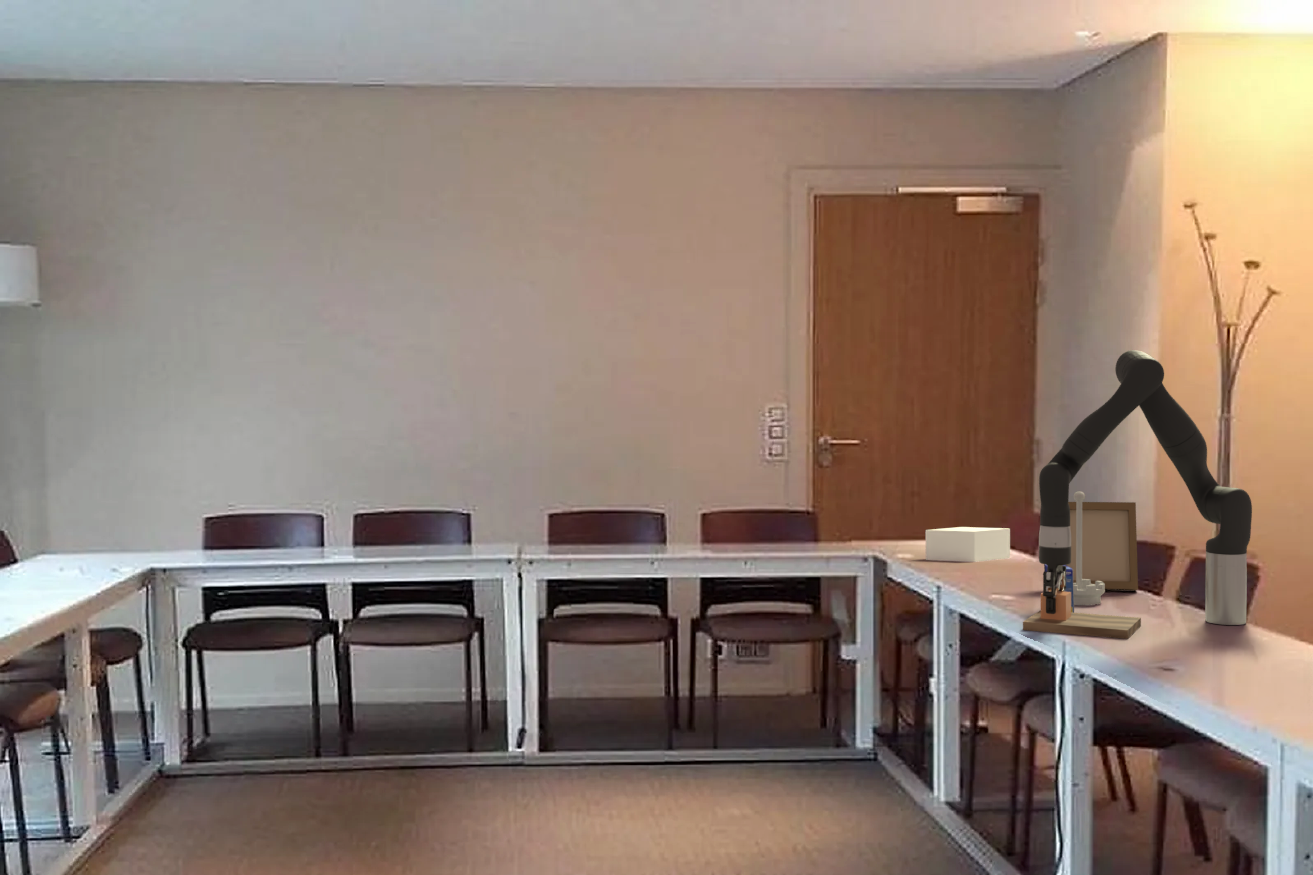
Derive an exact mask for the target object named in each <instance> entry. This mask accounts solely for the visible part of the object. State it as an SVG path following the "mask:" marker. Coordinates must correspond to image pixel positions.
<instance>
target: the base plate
mask: <svg viewBox="0 0 1313 875" xmlns="http://www.w3.org/2000/svg"><path fill="white" fill-rule="evenodd" d="M1141 626H1142V617H1136V616H1125V615H1124V616H1123V615H1122V616H1121V615H1109V614H1097V613H1085V612H1074V613H1073V612H1071V617H1070V618H1068V619H1067V620H1055V619H1043V618H1041V609H1040V610H1038V611H1037V612H1035V613H1034V614H1032V615H1030V616H1029V617H1028V618H1026V619H1025V620H1023V621H1022V631H1029V632H1031V631H1032V632H1040V633H1041V632H1044V633H1054V634H1055V633H1056V634H1066V635H1067V634H1068V635H1078V636H1089V637H1090V636H1092V637H1103V638H1113V639H1123V640H1124V639H1125V640H1127V639H1129V638H1130V637H1131V636H1132V635H1133V634H1134V633H1135V632H1136V631H1137V630H1138V629H1140V627H1141Z"/></svg>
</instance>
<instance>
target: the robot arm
mask: <svg viewBox="0 0 1313 875" xmlns="http://www.w3.org/2000/svg"><path fill="white" fill-rule="evenodd" d="M1115 375H1116V378H1117V380H1118V382H1119V383H1120V385H1119V386H1118V387H1117V389H1116V391H1115V392H1114V393H1113V395H1112V396H1111V397H1109V399H1108V400H1107V401H1105V403H1104V404H1102V405H1101V406H1100V407H1099V408H1098V409H1097V408H1096V409H1095V410H1094V411H1093V412H1091V413H1090V414H1089V415H1087V416H1086V417H1085V418H1084V419H1083V420H1082V421H1080V423H1079V424H1078V425H1077V426H1076V427H1075V429H1073V431H1072V432H1071V434H1070V435H1069V436H1068V437H1067V438H1066V440H1065V441H1064V443H1063V444H1062V447H1061V448H1060V449H1059V450H1058V451H1057V453H1056V454H1055V455H1054V456H1053V457H1052V459H1051V460H1050V461H1049V462H1048V463H1046V465H1044V467H1043V468H1041V470H1040V473H1039V479H1038V481H1039V482H1038V484H1039V485H1038V487H1039V498H1040V499H1039V500H1040V510H1039V514H1040V515H1039V518H1040V520H1039V531H1038V532H1039V534H1038V563H1040V564H1042V565H1044V564H1046V565H1047V566H1048V567H1047V572H1045V571H1044V570H1043V573H1042V575H1043V578H1042V579H1043V580H1042V587H1043V588H1042V589H1043V590H1042V593H1043V596H1045V598H1046V613H1048V614H1055V613H1056V594H1057V591H1064V592H1065V590H1066V566H1063V565H1068V564H1070V563H1071V530H1070V506H1069V504H1068V502H1069V494H1070V492H1069V491H1070V484H1071V482H1072V481H1073V479H1074V478H1075V477H1076V475H1077V474H1078V473H1079V471H1080V470H1081V468H1082V467H1083V466H1084V465H1085V463H1087V462H1088V461H1089V460H1090V458H1092V457H1093V455H1094V454H1095V453H1096V451H1097V450H1098V449H1099V448H1100V447H1101V446H1102V444H1103V443H1104V442H1105V441H1106V439H1107V438H1108V437H1109V436H1110V434H1112V432H1113V431H1114V430H1115V429H1116V428H1117V427H1118V426H1120V424H1121V423H1123V421H1124V420H1125V419H1126V418H1128V416H1129V415H1131V413H1133V412H1134V411H1135V410H1136V409H1137V408H1138V407H1139V408H1140V409H1141V411H1142V413H1143V415H1144V417H1145V419H1146V421H1147V423H1148V426H1149V427H1150V429H1151V430H1152V432H1153V434H1154V436H1155V438H1156V439H1157V441H1158V443H1159V445H1160V446H1161V447H1162V449H1163V450H1164V452H1165V455H1167V457H1168V458H1169V459H1170V461H1171V463H1172V464H1173V465H1174V467H1175V469H1176V470H1177V472H1178V474H1179V475H1180V477H1181V479H1182V480H1183V482H1184V484H1185V485H1186V487H1187V489H1188V491H1189V493H1190V496H1191V498H1192V499H1193V502H1194V503H1195V504H1194V505H1196V508H1197V510H1198V512H1199V513H1200V515H1201V516H1202V518H1204V520H1206V521H1207V522H1208V523H1209V522H1210V523H1212V524H1217V525H1219V533H1218V534H1217V535H1216V536H1215V537H1212V538H1209V539H1207V540H1206V543H1205V606H1204V607H1205V611H1204V613H1205V622H1207V623H1210V624H1215V625H1223V626H1224V625H1225V626H1226V625H1227V626H1239V625H1241V626H1242V625H1246V624H1247V589H1248V588H1247V585H1248V583H1247V576H1248V574H1247V573H1248V572H1247V571H1248V570H1247V564H1248V562H1247V559H1248V558H1247V555H1248V551H1247V550H1248V546H1249V543H1250V540H1251V533H1252V520H1253V519H1252V518H1253V505H1252V500H1251V497H1250V495H1249V493H1248V492H1247V491H1246V490H1244V489H1242V488H1238V487H1230V486H1229V487H1228V486H1221V485H1220V484H1219V483H1218V482H1217V481H1216V480H1215V478H1214V476H1213V474H1212V473H1211V472H1210V469H1209V467H1208V464H1207V463H1208V461H1207V460H1208V446H1207V442H1206V440H1205V438H1204V436H1203V434H1202V433H1201V431H1200V429H1199V427H1198V426H1197V425H1196V423H1195V422H1194V420H1193V419H1192V418H1191V417H1190V415H1189V414H1188V413H1187V411H1185V409H1184V408H1183V407H1182V406H1181V405H1180V404H1179V402H1177V401H1176V399H1175V398H1173V396H1172V395H1171V394H1170V393H1169V391H1168V390H1167V389H1166V387H1165V385H1164V383H1163V381H1164V379H1165V369H1164V367H1163V365H1162V364H1161V362H1159V360H1157V359H1156V358H1154V357H1153V356H1151V355H1150V354H1148V353H1146V352H1145V351H1141V350H1135V349H1134V350H1133V349H1132V350H1127V351H1125V352H1123V353H1122V354H1121V355H1120V356H1119V357H1118V359H1117V360H1116V363H1115ZM1049 590H1051V592H1049Z"/></svg>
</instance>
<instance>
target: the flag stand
mask: <svg viewBox="0 0 1313 875" xmlns="http://www.w3.org/2000/svg"><path fill="white" fill-rule="evenodd" d="M1085 498H1086V495H1085V492H1083V491H1076V492H1074V493H1073V499H1074V502H1076V583H1073V588H1074V606H1096V605H1095V604H1097V605H1100V604H1101V603H1102V600H1101V596H1102V595H1103V594H1104V593H1106V590H1105V584H1104V583H1103V582H1102V581H1095V584H1091V580H1089V579H1082V502H1084V501H1085Z"/></svg>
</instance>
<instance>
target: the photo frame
mask: <svg viewBox="0 0 1313 875" xmlns="http://www.w3.org/2000/svg"><path fill="white" fill-rule="evenodd" d="M1136 503H1137V502H1134V501H1132V502H1131V501H1125V502H1123V501H1122V502H1121V501H1117V502H1116V501H1082V579H1089V580H1091V584H1095V581H1102V582H1103V583H1104V584H1105V591H1133V592H1135V591H1137V590H1139V581H1138V580H1139V579H1138V575H1139V574H1138V542H1137V539H1138V538H1137V536H1138V535H1137V509H1136V508H1137V506H1136ZM1068 504H1069V506H1070V530H1071V563H1070V564H1068V565H1067V566H1068V567H1070V568H1072V569H1073V583H1076V501H1068Z"/></svg>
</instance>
